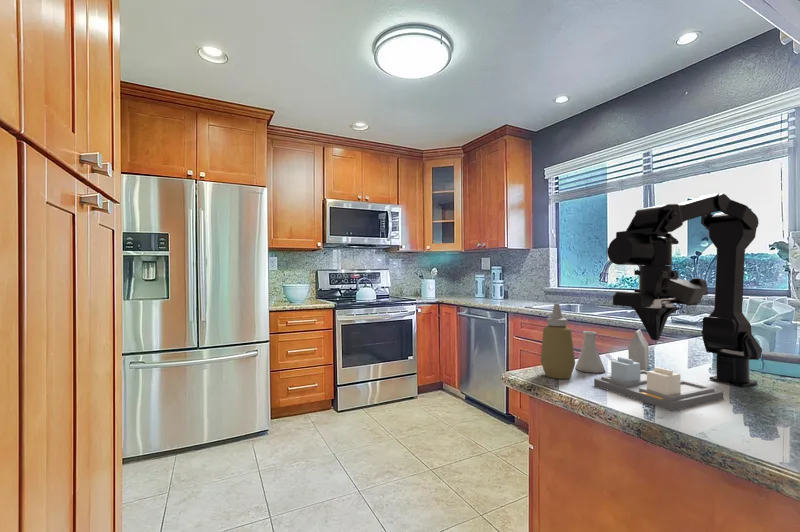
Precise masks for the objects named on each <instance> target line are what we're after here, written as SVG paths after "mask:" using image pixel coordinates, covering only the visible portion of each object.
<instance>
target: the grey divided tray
mask: <svg viewBox="0 0 800 532" xmlns="http://www.w3.org/2000/svg"><path fill="white" fill-rule="evenodd" d="M647 371H648V370H646V371H645V370H640V379H641V380H638V381H633V382H627V383H625V382H622V381H618V380H615V379H612V378H611V374H610V375H603V376H600V377H596V378H594V379H593V380H594V381H593V382H594V383H593V386H595V385H596V387H598V386H599V387H598V388H601V387H602V388H601V389H604V388H605V390H607V389H608V390H607V391H610V390H611V391H610V392H613V391H614V393H616V392H617V393H616V394H619V393H620V394H619V395H622V394H623V395H622V396H625V395H626V396H625V397H628V396H629V397H628V398H631V397H632V399H634V398H635V399H634V400H638V401H640V402H643V403H646V404H649V405H652V406H654V405H655V406H654V407H657V406H658V408H660V407H661V408H660V409H663V408H664V409H663V410H667V411H668V412H669V411H670V412H673V411H677V410H682V409H686V408H690V407H695V406H700V405H705V404H708V403H713V402H717V401H721V400H724V398H725V397H724V391H721V390H718V389H716V388H714V387H712V386H707V385H703V384H699V383H695V382H691V381H687V380H683V379H680V383H681V393H679V394H674V395H669V396H668V395H665V394H662V393H658V392H655V391H652V390H648V389H647Z"/></svg>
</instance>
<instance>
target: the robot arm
mask: <svg viewBox="0 0 800 532" xmlns="http://www.w3.org/2000/svg"><path fill="white" fill-rule="evenodd" d="M716 212H718V213H716ZM712 213H715V214H712ZM634 214H635V215H634V216H633V217H632V219H631V222H630V223H629V225H628V227H627V228H626V230H623V231H616V233H615V238H613V239H612V240H611V242H609V245H608V248H607V250H606V253H607V257H608V259H609V261H610V262H611V263H613V264H615V265H617V266H638V270H636V269H635V270H634V276H638V287H639V288H638V289H637V288H635V289H634V290H633V291H616V292H615V293H613V294H612V297H611V298H612V306H617V307H618V306H620V307H629V308H630V307H631V309H632V310H634V312H635V313H636V314H637V316H638V318H639V319H640V321H641V323H642V324H643V326H644V328H645V330H646V332H647V333H648V336H649V338H650V340H652V341H659V340H660V338H661V336H662V333H663V330H664V328H665V325H666V322H667V320H668V318H669V317H670V315H672V314H674V312H676V311H679V310H680V308H681V307H676V306H674V304H677V305H686V306H698V304H700V303H701V301H702V299H703V297H704V296H708V295H709V291H708V283H707V280H705V279H703V278H700V277H695V278H693V277H692V279H691V280H688V279H685V280H684V279H682V278H679V272H678V270H673V256H672V255H673V246H672V245H678V244H679V240H678V239H677V238H675V237H674V236H673V235H672V232H674V231H676V230H678V229H679V228H681V227H683V224H684V223H685V222H687V221H690V220H692V219H697V218H700V224H701V225H702V226H703V227H704V228H705V229H706V230H708V238H709V240H710V241H711V242H712V244H713V245H714V247H715V249H716V263H715V264H716V265H715V266H716V267H715V284H714V286H715V287H714V305H713V307H714V308H713V311H712V312H710V314H709V315H708V316H705V315H704V317H703V318H702V330H701V336H702V342H703V345H704V347H705V348H704V350H705V353H708V354H710V353H711V354H716V355H715V356H716V358H715V359H716V375H714V376H713V375H712V376H708V377H709V379H708V380H711V381H715V382H720V383H724V384H728V385H732V386H736V387H740V388H743V387H747V386H752V385H758V381H757V380H753V379H750V361H751V360H753V361H755V360H756V361H759V360H760V359H761V358H762V355H763V354H762V353H763V349H762V347H761V345H760V344H759V343H758V341H757V340H756V338H755V337H754V336H753V334H752V332H753V331H752V325H751V323H750V321H749V320H748V319H747V317H746V316H745V315H744V313H743V302H744V301H743V299H744V297H743V296H744V283H745V282H744V277H745V261H746V260H745V259H746V258H745V257H746V256H745V255H746V250H747V248H748V247H749V246H750V244H751V243H752V242H753V241H754V240H755V239H756V233H757V229H758V226H759V217H758V216H757V215H756V213H755V212H754V211H752V209H751V208H750V207H748V205H745V204H743V203H741V202H738V201H736V200H733V199H731V198H730V197H728V195H727V194H725V193H719V192H717V193H713V194H706V195H701V196H699V197H698V198H695V199H694V198H693V199H690V200H687V201H684V202H680V203H667V204H662V205H656V206H649V207H642V208H638V209H637V210H635V213H634Z"/></svg>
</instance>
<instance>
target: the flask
mask: <svg viewBox="0 0 800 532" xmlns="http://www.w3.org/2000/svg"><path fill="white" fill-rule="evenodd" d="M582 334H583V335H584V337H583V338H584V339H583V343H582V348H581V352H580V353H579V357H578V359H577V362H576V363H575V370H578V371H581V372H583V373H593V374H594V373H595V374H598V373H606V368H605V366H604V364H603V362H602V359H601V356H600V353H599V351H598V348H597V342H596V336H597V332H596V331H592V330H591V331H590V330H587V331H586V330H584V331H583V332H582Z"/></svg>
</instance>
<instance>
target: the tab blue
mask: <svg viewBox="0 0 800 532" xmlns="http://www.w3.org/2000/svg"><path fill="white" fill-rule="evenodd" d="M610 371H611V373H610V375H611V378H612V379H615V380H618V381H622V382H625V383H627V382H633V381H638V380H641V379H640V363H637V362H633V360H631V359H629V358H627V357H622V356H617V359H616V360H611V361H610Z"/></svg>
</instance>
